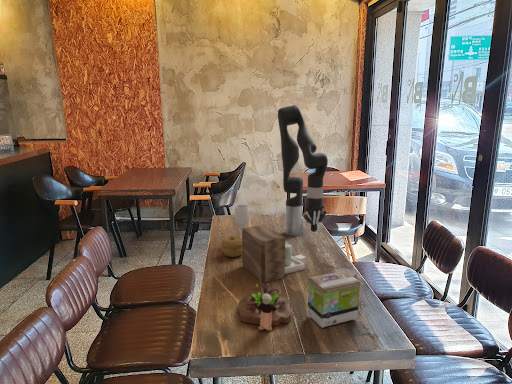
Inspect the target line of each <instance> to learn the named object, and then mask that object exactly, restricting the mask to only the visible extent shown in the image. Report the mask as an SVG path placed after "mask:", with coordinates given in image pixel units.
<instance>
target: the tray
mask: <svg viewBox="0 0 512 384" xmlns="http://www.w3.org/2000/svg"><path fill="white" fill-rule="evenodd" d="M306 260H307V257H306V256H304V255H303V254H298V255H294V256H293V255H292V265H291V266H287V267H285V275H287V274H290V273H291V274H292V273H295V272H300V271H303V270H305V269H306V263H307V261H306Z"/></svg>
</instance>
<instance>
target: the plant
mask: <svg viewBox="0 0 512 384" xmlns="http://www.w3.org/2000/svg"><path fill="white" fill-rule="evenodd" d="M261 286H262V290H263V291H262V292H260V291H258V292H251V293H248V294H246V295H245V296H243V297H242V298H241V299H240V300H239V303H238V305H237V313H238V314H239V322H242V323H247V324H253V325H259V326H260V319H261V311H262V310H259V312H258V313H256V312H255V311H256V309H257V307H258V306H259V305H260V304H261V303H263V299H262V296H263V294H269V295H270V296H271V297H272V300H271V301H270V304H272V305H274V306H275V307H276V308H277V312H278V315H276V314H275V312H274V311H273V310H271V312H272V325H271V326H273V327H274V326H275V327H277V326H279V325H280V324H288V323H290V321H291V320H292V309H291V307H292V301H291V299H290V298H289V297H288V296H285V294H284V293H283V294H282V291H280V290H279V289H277V288H272V289H270V290H269V288H270V287H271V285H270V283H267V282H266V284H264V283H262V282H261V283H260V282H258V283H256V284H255V288H257V289H259V288H260V287H261ZM274 291H276V292H277V293H273V292H274Z"/></svg>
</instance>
